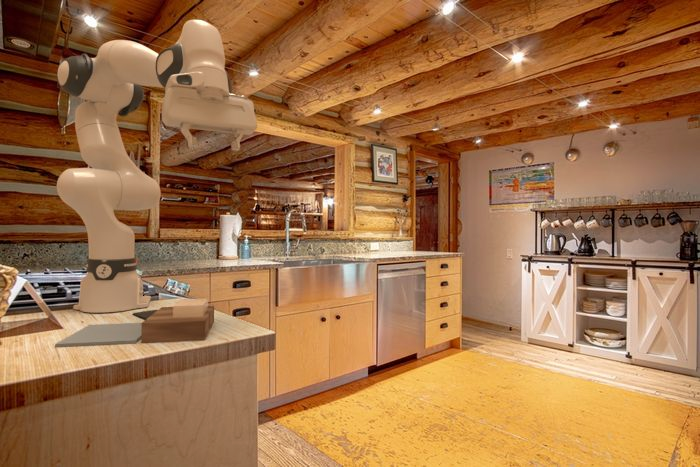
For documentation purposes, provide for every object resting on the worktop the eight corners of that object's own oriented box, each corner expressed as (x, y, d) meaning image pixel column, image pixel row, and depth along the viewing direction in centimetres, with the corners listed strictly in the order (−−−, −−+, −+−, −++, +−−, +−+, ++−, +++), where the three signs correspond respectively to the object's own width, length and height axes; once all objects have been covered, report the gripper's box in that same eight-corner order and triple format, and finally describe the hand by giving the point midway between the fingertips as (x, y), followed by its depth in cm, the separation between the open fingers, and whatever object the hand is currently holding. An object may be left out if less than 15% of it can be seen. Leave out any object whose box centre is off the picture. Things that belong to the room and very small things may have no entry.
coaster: (180, 309, 89) (180, 299, 89) (207, 309, 90) (207, 298, 90) (173, 317, 81) (173, 306, 81) (202, 316, 82) (203, 305, 82)
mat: (89, 327, 87) (89, 324, 87) (155, 324, 90) (155, 322, 90) (55, 347, 72) (55, 344, 72) (135, 343, 76) (135, 340, 76)
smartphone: (159, 309, 106) (184, 316, 96) (159, 312, 106) (184, 320, 96) (130, 313, 101) (153, 321, 91) (130, 316, 101) (153, 325, 91)
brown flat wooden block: (161, 323, 91) (161, 307, 91) (213, 321, 94) (214, 305, 94) (141, 343, 76) (141, 323, 76) (204, 340, 79) (205, 320, 78)
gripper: (247, 103, 94) (254, 156, 93) (157, 89, 82) (162, 149, 81) (257, 91, 89) (264, 146, 88) (162, 73, 77) (168, 137, 76)
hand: (215, 147), depth 84 cm, fingers open, 8 cm apart
